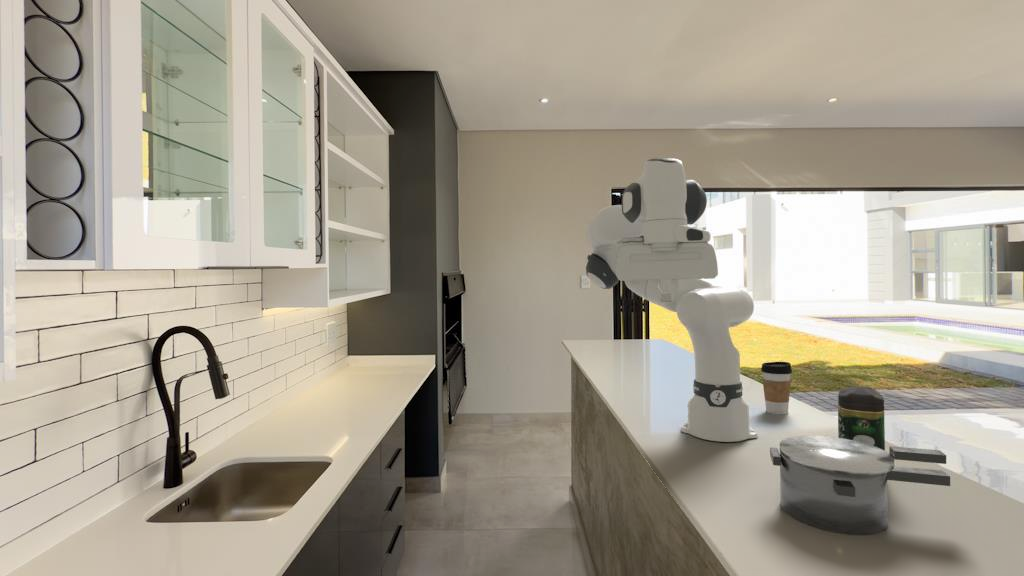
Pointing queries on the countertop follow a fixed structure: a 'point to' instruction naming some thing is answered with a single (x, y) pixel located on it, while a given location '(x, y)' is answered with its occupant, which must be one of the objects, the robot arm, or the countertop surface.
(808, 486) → the pot
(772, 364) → the coffee cup
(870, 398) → the coffee jar
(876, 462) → the lid
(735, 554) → the countertop surface
